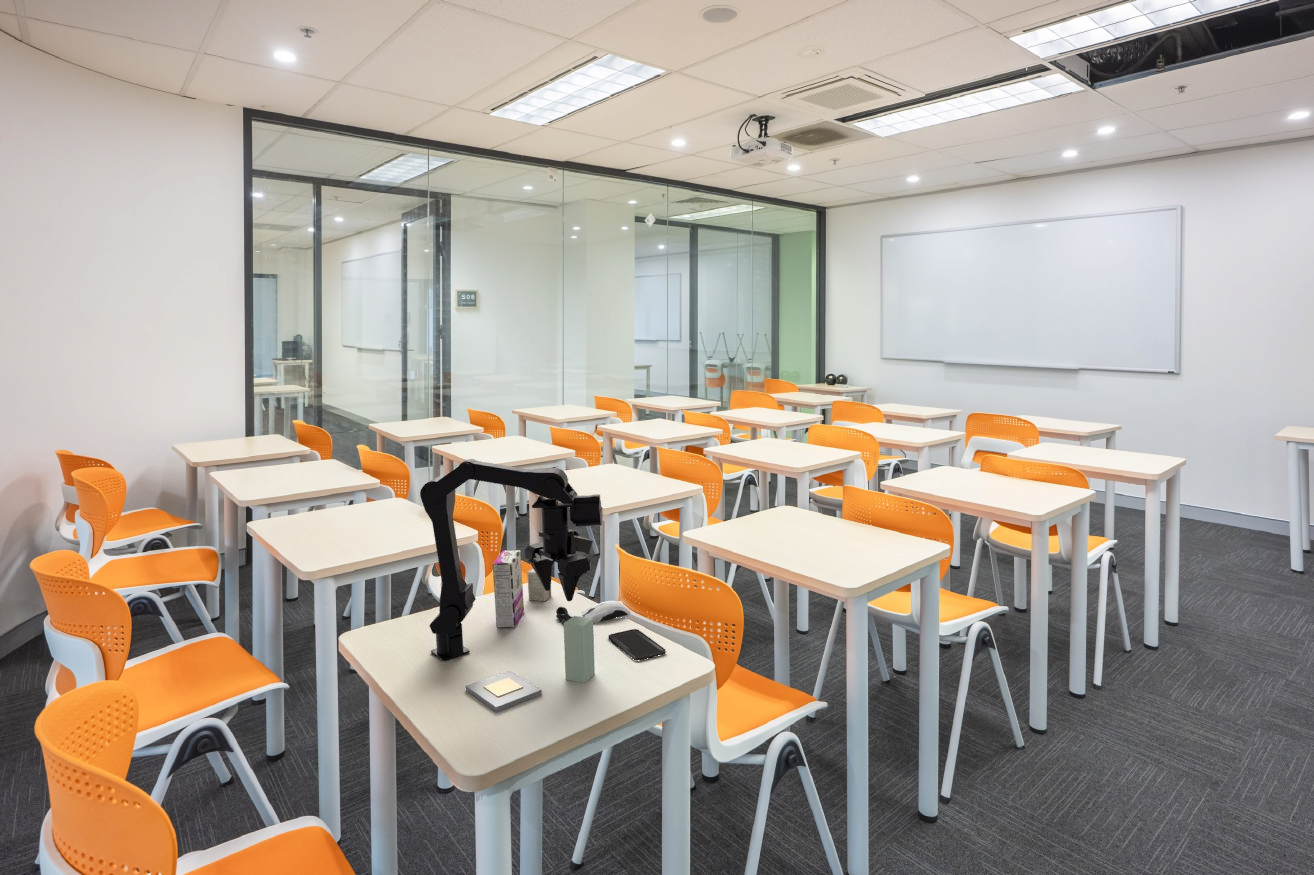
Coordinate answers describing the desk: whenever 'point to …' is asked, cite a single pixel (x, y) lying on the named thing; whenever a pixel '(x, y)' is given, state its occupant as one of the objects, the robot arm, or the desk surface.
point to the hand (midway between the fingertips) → (558, 595)
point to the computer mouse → (598, 612)
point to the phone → (636, 644)
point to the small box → (536, 587)
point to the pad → (503, 690)
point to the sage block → (579, 649)
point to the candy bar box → (508, 588)
